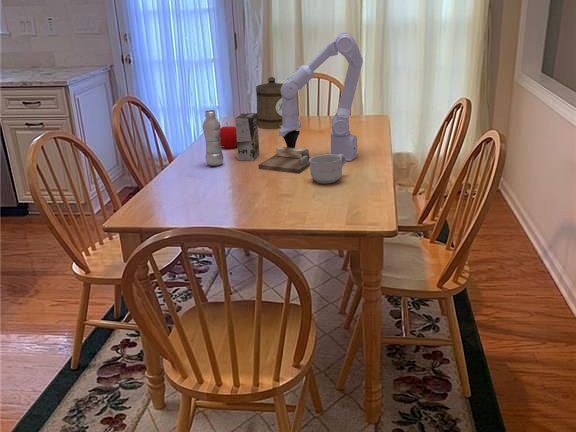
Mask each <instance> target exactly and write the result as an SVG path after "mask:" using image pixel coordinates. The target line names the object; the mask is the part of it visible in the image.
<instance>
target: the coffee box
mask: <svg viewBox="0 0 576 432" xmlns="http://www.w3.org/2000/svg"><path fill="white" fill-rule="evenodd" d="M235 127H236V135H237V146H236V147H237V149H236V150H237V159H238V161H249V162H250V161H252V162H253V161H255V160H256V159H257V158H258V156H259V155H260V154H261V153H260V143H259V142H260V141H259V140H260V138H259V127H258V120H257V112H255V113H254V112H251V113H249V112H248V113H241V114H239V115H238V116H236V117H235Z"/></svg>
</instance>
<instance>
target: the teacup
mask: <svg viewBox="0 0 576 432" xmlns="http://www.w3.org/2000/svg"><path fill="white" fill-rule="evenodd" d="M310 157H311V158H310V159H309V162H310V166H309V171H310V176H311V178H312V179H313V180H314V181H316V183H319V184H332V183H335V182H337V181H338V180H339V179H340V178H341V176H342V174H343V173H342V172H343V167H344V166H345V164H346V162H347V161H346V157H345V156H344V155H343V154H339V155H335V154H331V153H330V154H329V153H326V154H325V153H324V154H318V155H314V156H310Z"/></svg>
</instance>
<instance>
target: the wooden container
mask: <svg viewBox="0 0 576 432" xmlns="http://www.w3.org/2000/svg"><path fill="white" fill-rule="evenodd" d="M267 81H268V82H267V83H262V84H261V83H260V84H258V85H256V87H255V91H256V92H255V94H256V95H255V96H256V113H257V120H258V128H261V129H264V130H266V129H267V130H276V129H277V130H278V129H281V128H280V126H281V125H283V123H282V95H281V87H282V85H283V83H282V82H281V83H278V82H276V78H275V77H274V76H269V77H268V78H267Z"/></svg>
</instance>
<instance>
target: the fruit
mask: <svg viewBox="0 0 576 432" xmlns="http://www.w3.org/2000/svg"><path fill="white" fill-rule="evenodd" d="M225 124H226V125H225V126H221V127H220V144H221V148H224V149H234V148H235V147H237V135H236V126H228V122H226V123H225Z"/></svg>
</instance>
